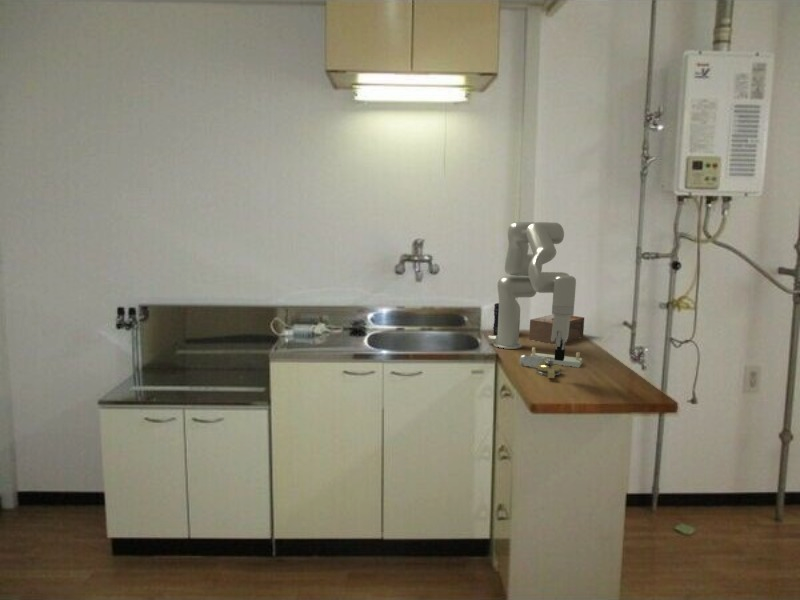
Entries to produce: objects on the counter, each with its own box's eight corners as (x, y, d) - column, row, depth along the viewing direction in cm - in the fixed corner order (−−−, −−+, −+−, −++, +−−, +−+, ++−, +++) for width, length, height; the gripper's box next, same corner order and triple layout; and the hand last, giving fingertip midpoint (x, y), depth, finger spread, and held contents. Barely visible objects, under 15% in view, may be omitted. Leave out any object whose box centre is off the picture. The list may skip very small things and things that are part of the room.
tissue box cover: (556, 333, 308) (557, 313, 306) (583, 337, 298) (584, 317, 297) (529, 340, 289) (530, 319, 288) (556, 345, 279) (557, 324, 278)
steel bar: (554, 370, 236) (555, 360, 235) (518, 365, 241) (519, 356, 240) (556, 367, 239) (557, 357, 239) (520, 363, 245) (521, 353, 244)
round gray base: (534, 374, 229) (534, 372, 229) (538, 368, 237) (538, 366, 237) (558, 377, 225) (558, 375, 225) (562, 371, 234) (562, 369, 233)
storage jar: (514, 337, 295) (516, 306, 292) (494, 336, 295) (495, 306, 293) (511, 332, 305) (513, 303, 302) (491, 332, 305) (493, 302, 302)
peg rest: (528, 361, 248) (528, 349, 247) (532, 357, 255) (532, 345, 254) (579, 367, 240) (580, 355, 239) (581, 363, 247) (582, 350, 247)
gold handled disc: (537, 366, 235) (537, 358, 235) (558, 368, 234) (558, 359, 234) (539, 377, 221) (540, 368, 220) (562, 378, 220) (563, 369, 219)
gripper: (555, 305, 227) (552, 353, 230) (548, 312, 213) (545, 363, 217) (576, 307, 224) (572, 356, 227) (570, 314, 210) (566, 366, 214)
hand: (559, 359), depth 222 cm, fingers closed
